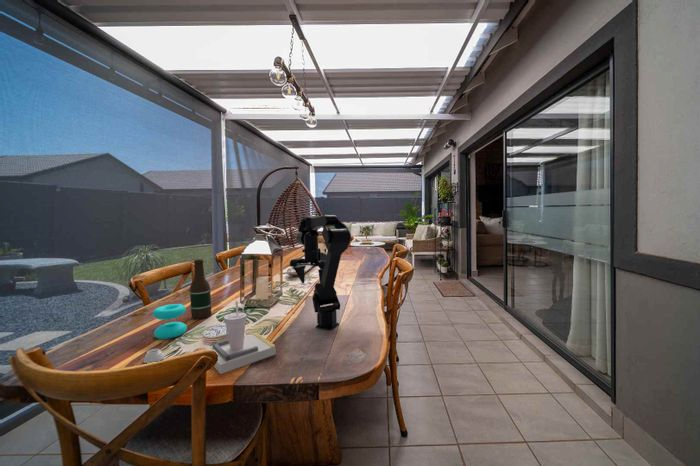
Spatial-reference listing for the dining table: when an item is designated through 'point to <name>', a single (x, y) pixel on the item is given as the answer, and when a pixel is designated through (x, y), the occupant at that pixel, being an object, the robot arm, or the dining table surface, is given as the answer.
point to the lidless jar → (153, 356)
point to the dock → (242, 352)
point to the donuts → (173, 327)
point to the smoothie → (235, 328)
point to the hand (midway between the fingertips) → (312, 284)
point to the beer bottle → (200, 293)
